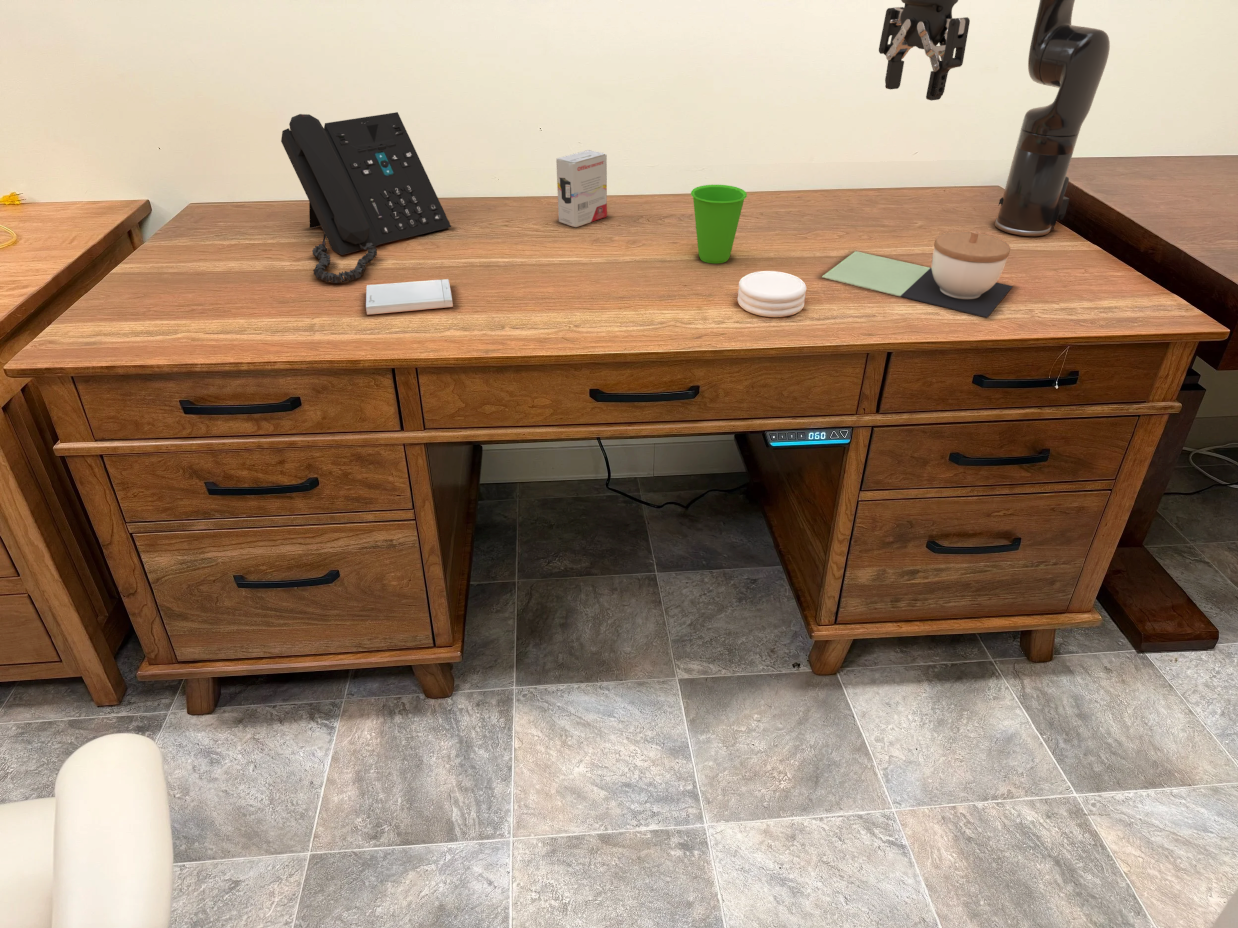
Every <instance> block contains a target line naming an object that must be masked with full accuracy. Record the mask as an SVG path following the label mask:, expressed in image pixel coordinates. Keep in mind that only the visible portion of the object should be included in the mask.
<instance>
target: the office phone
mask: <svg viewBox="0 0 1238 928" xmlns="http://www.w3.org/2000/svg"><path fill="white" fill-rule="evenodd" d="M288 125H289V128H285V129H284V130H282V132H281V139H280V142H281V144H282V147H283V149H284V151H285V153H286V155H287V157H288V159H289V162H290V163H291V165H292V168H293V170H294V172H295V174H296V177H297V178H298V180H299V182H300V185H301V186H302V189H303V191H304V193H305V195H306V198H307V199H308V201H309V203H308V206H309V207H308V211H309V217H308V218H309V219H308V220H309V229H313V228H317V227H321V229H322V231H323V233H324V234H323V237H322V242H321V243H319V244H318V245H315V246H314V247H313V248H312V250H311V252H312V256H313V257H315V258H316V259H317V260H318V263H316V264H315V267H314V268H313V270H312V271H313V275H314V276H315V278H316V279H318V280H321V281H323V282H326V283H329V282H331V283H332V284H342V283H348V282H350V281H355V279H358V278H362V275H364V272H365V271H366V268H367V264H371V262H372V261H373V260H375V259H376V258H377V257H376V256H377V255H378V249H377V246H380V245H382V244H388V243H391V242H396V241H399V240H403V239H407V238H408V239H409V238H412V237H417V236H421V235H424V234H429V233H433V232H436V231H441V230H446V229H449V228H452V225H451V223H450V220H449V219H448V217H447V215H446V212H445V210H444V208H443V205H442V203H441V202H440V199H439V197H438V195H437V193H436V190H435V189H434V187H433V185H432V182H431V180H430V178H429V176H428V174H427V172H426V170H425V167H424V165H423V163H422V161H421V159H420V157H419V155H418V153H417V150H416V148H415V146H414V144H413V142H412V140H411V137H410V136H409V134H408V131H407V129H406V127H405V125H404V123H403V121H402V118H401V116H400V114H399V112H398V111H395V112H389V113H383V114H377V115H370V116H364V117H356V118H351V119H343V120H338V121H331V122H325V123H324V125H322V123H321V121H320V119H318V118H316V117H315V116H313V115H311V114H307V113H306V114H305V113H299V114H296V115H294V116H292V117H291V118H290V121H289V124H288ZM326 240H327V242H328V244H329V246H330V248H331V250H332V251H333V252H335V253H337V254H338V255H340V256H345V255H348V254H353V253H356V252H359V251H362V250H365V251H367V252H366V253H364V255H363V256H361V258H359V259H358V260H357V262H356V265H355V267H354V269H350V270H349V271H346V270H345V271H344V272H343V270H342V271H339V272H338V274H337V273H334V272H329V271H325V270H326V269H327V268H328V267H329V265H330V264H331V255H330V254H328V253H327V252H328V247H327V246H326Z"/></svg>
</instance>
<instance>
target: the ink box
mask: <svg viewBox="0 0 1238 928" xmlns="http://www.w3.org/2000/svg"><path fill="white" fill-rule="evenodd" d="M607 160H608V159H607V154H606V153H604V152H601V151H596V150H592V149H587V150H583V151H579V152H575V153H572V154H569V155H568V154H567V155H564V156H560V157H557V158H556V161H555V162H556V185H557V187H556V188H557V213H558V223H561V224H564V225H567V226H569V227H573V228H579V227H581V226H584V225H587V224H590V223H593V222H596V221H598V220H601V219H605V218H607V217H608V185H607V184H608V181H607V180H608V170H607V167H608V165H607V163H608V161H607Z"/></svg>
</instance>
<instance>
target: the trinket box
mask: <svg viewBox="0 0 1238 928" xmlns="http://www.w3.org/2000/svg"><path fill="white" fill-rule="evenodd" d="M1010 253H1011V245H1010V244H1009V243H1008V242H1007V241H1005V240H1003V239H1002V238H1000V237H998V236H994V235H991V234H988V233H983V232H979V231H977V230H972V231H968V230H966V231H965V230H954V231H947V232H943V233H941V234H938V235H937V236H936V237H935V239H934V243H933V251H932V256H931V268H932V274H933V277H934V280H935V282H936V283H937V285H938V286H939V287H940V291H941V292H942V293H944V294H945V295H948V296H950V297H954V298H958V299H975V298H978V297H980V296H981V294H983V293H984V292H986V291H988V290H989V289H990V288H992V287H993V286H994V285H995V283H998V281H999V279H1000V278H1001V276H1002V274H1003V271H1004V269H1005V266H1006V264H1007V260H1008V257H1009V256H1010Z"/></svg>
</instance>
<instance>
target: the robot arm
mask: <svg viewBox="0 0 1238 928" xmlns="http://www.w3.org/2000/svg"><path fill="white" fill-rule="evenodd" d="M900 1H901V3H903V4H904V6H894V7H887V9H886V10H885V15H884V20H883V25H882V30H881V35H880V40H879V46H878V53H879V54H880V55H884V56H885V58H886V61H887V66H886V73H885V77H884V83H885V84H884V85H885V86H884V87H885V89H886V90H898V89H899V88H900V87H901V83H902V76H903V71H904V67H905V66H904V65H905V60H903V59H904V58H905V57H906V55H907V54H908V53H909V51H911V49H913V48H915V47H916V48H917V49H919V50H924V54H925V56H926V57H927V58H929V61H930V62H929V63H930V65H931V69H932V70H931V71H930V74H929V79H928V85H927V89H926V95H925V99H926V100H928V101H939V100H940V99H941V98H942V96H943V95H944V94H945V91H946V90H945V88H946V84H947V80H948V75H949V72H950V71H951V70H952V69H956V68H961V67H962V66H963V64H964V58H965V52H966V46H967V40H968V34H969V29H970V18H969V17H968V16H967V17H965V16H964V17H953V8H954V6H955V5H956V4H957V3H958V2H959V0H900ZM1075 2H1076V0H1039V3H1038V6H1037V11H1036V17H1035V21H1034V26H1033V31H1032V35H1031V39H1030V44H1029V50H1028V59H1027V70H1028V75H1029V77H1030V79H1031V80H1032V81H1033V82H1035V83H1036V84H1039V85H1043V86H1047V87H1053V88H1057V89H1058V91H1057V93H1056V95H1055V98H1054V100H1053V101H1052V103H1050V104H1047V105H1045V106H1038V107H1033V108H1031V109H1029V110H1027V111H1026V112H1025V113H1024V115H1023V119H1022V123H1021V126H1020V127H1021V128H1020V129H1019V130H1020V131H1019V134H1018V137H1017V141H1016V146H1015V150H1014V154H1013V157H1012V160H1011V166H1010V169H1009V172H1008V176H1007V179H1006V184H1005V186H1004V191H1003V195H1002V197H1001V198H999V200H998V206H999V210H998V214H997V217H996V219H995V222H994V226H995V227H996V228H997V229H999V230H1000V231H1002V232H1005V233H1006V234H1007V233H1008V234H1010V235H1011V234H1012V235H1015V236H1020V237H1021V236H1023V237H1043V236H1045V235H1048V234H1049V233H1050V232H1053V231H1054V230H1055V227H1056V224H1057V222H1058V220H1064V218H1065V215H1066V213H1067V208H1068V205H1069V202H1070V198H1069V197H1067V196H1065V194H1066V191H1067V188H1068V185H1069V181H1070V178H1069V176H1067V175H1068V170H1069V167H1070V164H1071V161H1072V157H1073V154H1074V151H1075V147H1076V143H1077V140H1078V136H1079V135H1080V131H1081V128H1082V126H1083V123H1084V122H1085V120H1086V118H1087V116H1088V115H1089V113H1090V111H1091V108H1092V105H1093V103H1094V99H1095V96H1096V93H1097V91H1098V87H1099V85H1100V82H1101V80H1102V77H1103V74H1104V72H1105V69H1106V66H1107V63H1108V60H1109V55H1110V47H1111V43H1110V42H1111V41H1110V37H1109V35H1108V34H1107V32H1106V31H1104V30H1103V29H1099V28H1093V27H1087V26H1081V25H1074V24H1072V17H1073V10H1074V7H1075V6H1074V5H1075ZM889 41H890V42H889Z"/></svg>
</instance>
